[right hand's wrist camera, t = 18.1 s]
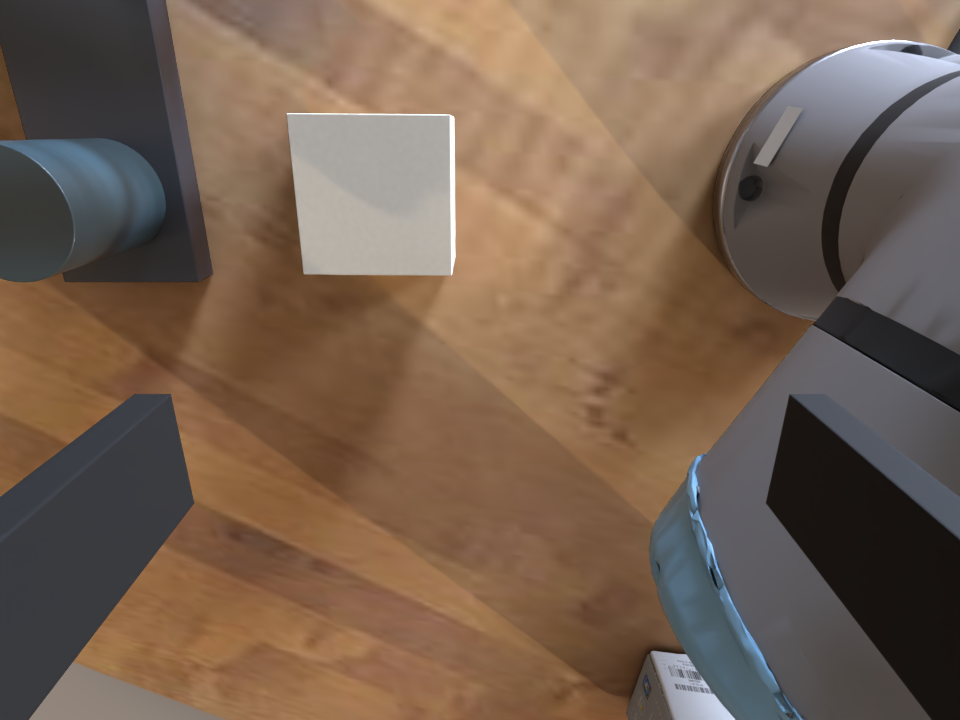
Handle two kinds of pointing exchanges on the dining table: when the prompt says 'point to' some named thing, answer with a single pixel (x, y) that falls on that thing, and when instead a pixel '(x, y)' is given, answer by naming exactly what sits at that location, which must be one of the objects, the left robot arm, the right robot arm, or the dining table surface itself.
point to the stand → (97, 147)
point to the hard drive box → (673, 691)
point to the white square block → (374, 193)
